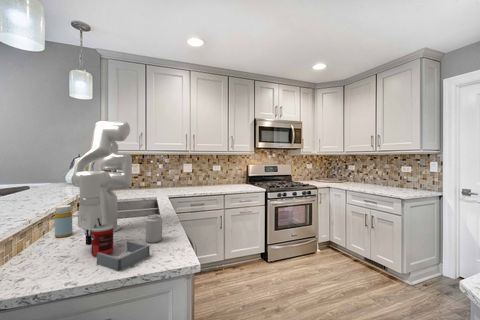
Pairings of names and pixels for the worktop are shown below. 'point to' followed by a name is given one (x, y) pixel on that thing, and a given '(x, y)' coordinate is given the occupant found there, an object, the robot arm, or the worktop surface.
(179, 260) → the worktop surface
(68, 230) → the bottle
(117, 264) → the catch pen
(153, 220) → the can
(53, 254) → the worktop surface
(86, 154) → the robot arm
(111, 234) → the canned food
